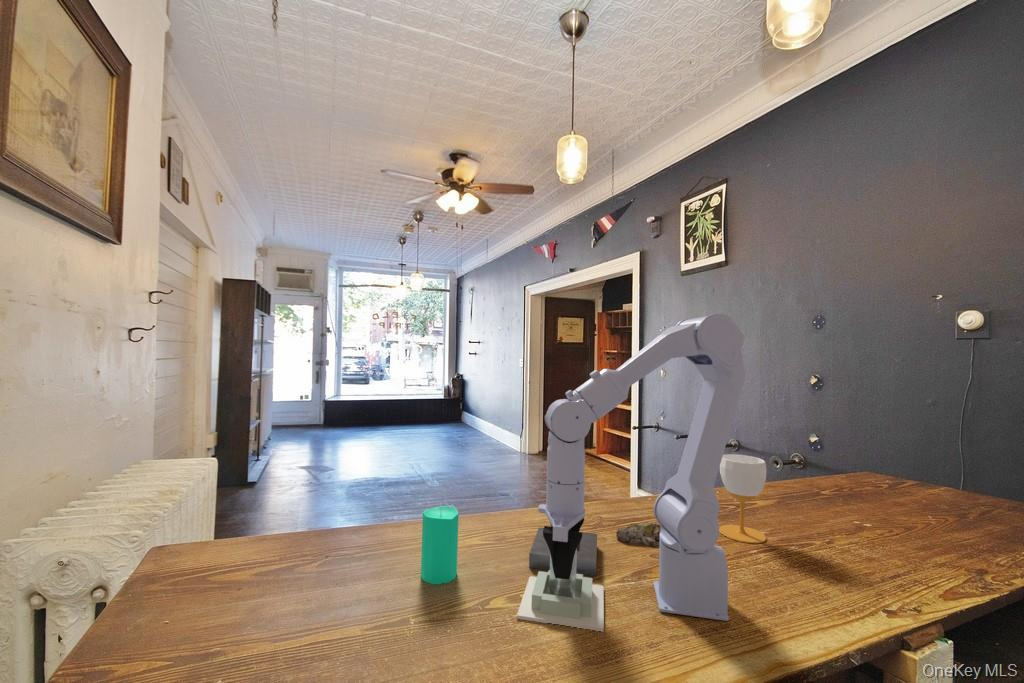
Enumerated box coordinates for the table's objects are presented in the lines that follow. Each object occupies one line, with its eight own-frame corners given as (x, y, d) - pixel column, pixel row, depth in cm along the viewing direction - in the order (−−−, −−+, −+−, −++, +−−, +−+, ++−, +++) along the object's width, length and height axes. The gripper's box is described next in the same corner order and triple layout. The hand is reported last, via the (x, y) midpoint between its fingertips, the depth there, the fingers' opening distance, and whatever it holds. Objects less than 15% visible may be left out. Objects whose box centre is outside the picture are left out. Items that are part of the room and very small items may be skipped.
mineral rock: (652, 518, 94) (672, 521, 87) (656, 539, 93) (676, 545, 85) (606, 522, 92) (622, 526, 84) (609, 544, 91) (625, 551, 83)
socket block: (596, 546, 84) (597, 533, 84) (595, 576, 73) (596, 561, 73) (538, 539, 86) (538, 527, 86) (529, 567, 75) (529, 553, 75)
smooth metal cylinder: (576, 587, 66) (577, 535, 66) (575, 602, 62) (576, 546, 62) (550, 584, 67) (552, 532, 67) (547, 598, 63) (548, 543, 63)
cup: (710, 531, 93) (711, 456, 93) (731, 522, 98) (731, 452, 98) (754, 547, 85) (755, 466, 86) (774, 536, 91) (774, 460, 91)
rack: (603, 589, 69) (603, 573, 69) (603, 632, 58) (603, 613, 58) (529, 579, 71) (530, 563, 71) (516, 618, 60) (517, 600, 61)
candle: (422, 586, 68) (424, 510, 69) (419, 568, 74) (421, 498, 74) (459, 582, 70) (461, 507, 70) (454, 564, 76) (456, 495, 76)
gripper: (545, 465, 73) (543, 545, 73) (531, 491, 59) (529, 592, 59) (587, 468, 72) (585, 550, 71) (583, 496, 57) (581, 599, 57)
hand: (563, 570), depth 65 cm, fingers closed on smooth metal cylinder, 4 cm apart
